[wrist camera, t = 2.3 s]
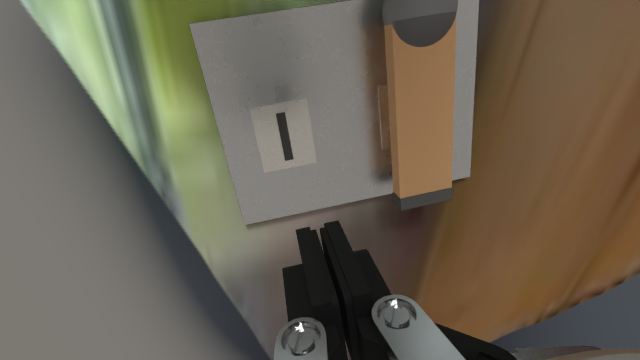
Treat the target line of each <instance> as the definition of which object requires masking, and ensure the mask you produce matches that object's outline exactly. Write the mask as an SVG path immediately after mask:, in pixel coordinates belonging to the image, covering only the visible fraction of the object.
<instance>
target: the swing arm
mask: <svg viewBox="0 0 640 360" xmlns="http://www.w3.org/2000/svg"><path fill="white" fill-rule="evenodd" d="M457 9H458V0H384V2H383V9H382V17H383V23H384V32H385V50H386V68H387V86H388V104H389V122H390V140H391V158H392V176H393V201H394V203H395V204H396V205H397V207H398V208H399V209H400V210H401V211H402V210H407V209H411V208H416V207H420V206H425V205H430V204H434V203H439V202H443V201H448V200H452V162H453V124H454V86H455V48H456V14H457Z"/></svg>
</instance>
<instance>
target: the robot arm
mask: <svg viewBox="0 0 640 360" xmlns="http://www.w3.org/2000/svg"><path fill="white" fill-rule="evenodd" d="M324 226H325V227H324V228H320V234H321V240H322V246H323V250H322V247H321V244H320V241H319V238H318V235H317V232H316V229H315V230H310V227H307V228H302V229H297V230H296V234H297V239H298V244H299V249H300V254H301V259H302V264H299V265H295V266H290V267H286V268H283V269H282V270H283V279H284V288H285V297H286V306H287V314H288V323H287V324H285V325H284V326H283V327H282V328H281V330H280V331H279V333H278V334H277V338H276V342H275V351H274V358H273V360H348V358H347V351H346V345H345V341H346V344H347V347H348V351H349V354H350V357H351V360H640V350H637V349H600V348H597V347H593V346H560V347H538V348H516V349H515V353H509V352H508V351H506V350H504V349H502V348H500V347H498V346H496V345H493V344H490V343H488V342H485V341H482V340H480V339H477V338H474V337H472V336H469V335H466V334H463V333H461V332H458V331H455V330H453V329H450V328H447V327H445V326H442V325H439V324H436V323H434V322H433V321H432V320H431V319H430V318H429V317H428V316H427V314H426V313H425V312H424V311H423V310H422V309H421V307H420V306H419V305H418V304H417V303H416V302H415V301H413V300H412V299H410V298H408V297H406V296H401V295H392V294H391V293H390V291H389V289H388V287H387V285H386V283H385V282H384V280H383V278H382V276H381V274H380V272H379V270H378V269H377V267H376V265H375V263H374V261H373V259H372V258H371V256H370V254H369V252H368V251H367V249H363V250H359V251H355V252H353V251H352V248H351V246H350V244H349V242H348V240H347V238H346V236H345V234H344V231H343V229H342V227H341V225H340V223H339V221H334V222H329V223H325V224H324ZM323 251H324V254H323ZM344 337H345V339H344Z"/></svg>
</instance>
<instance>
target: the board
mask: <svg viewBox="0 0 640 360" xmlns="http://www.w3.org/2000/svg"><path fill="white" fill-rule="evenodd" d="M383 2H384V0H350V1H343V2H336V3H329V4H322V5H315V6H308V7H301V8H294V9H287V10H281V11H274V12H267V13H260V14H253V15H246V16H239V17H232V18H225V19H218V20H211V21H204V22H198V23H191V24H189V26H190V29H191V33H192V37H193V40H194V44H195V47H196V51H197V55H198V58H199V62H200V65H201V69H202V73H203V76H204V80H205V83H206V87H207V91H208V94H209V98H210V101H211V105H212V109H213V112H214V116H215V120H216V123H217V127H218V130H219V134H220V138H221V141H222V145H223V148H224V152H225V156H226V159H227V163H228V166H229V170H230V174H231V177H232V181H233V185H234V188H235V192H236V195H237V199H238V203H239V206H240V210H241V213H242V217H243V221H244V224H245V225H248V224H252V223H257V222H262V221H266V220H271V219H275V218H280V217H285V216H289V215H294V214H299V213H303V212H308V211H313V210H317V209H322V208H327V207H331V206H336V205H341V204H345V203H350V202H355V201H359V200H364V199H368V198H373V197H378V196H382V195H387V194H392V193H393V176H392V158H391V140H390V122H389V104H388V86H387V68H386V50H385V32H384V23H383V17H382V9H383ZM478 12H479V0H458V9H457V14H456V48H455V86H454V124H453V162H452V180H457V179H461V178H466V177H470V169H471V149H472V129H473V110H474V90H475V71H476V51H477V31H478Z"/></svg>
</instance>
